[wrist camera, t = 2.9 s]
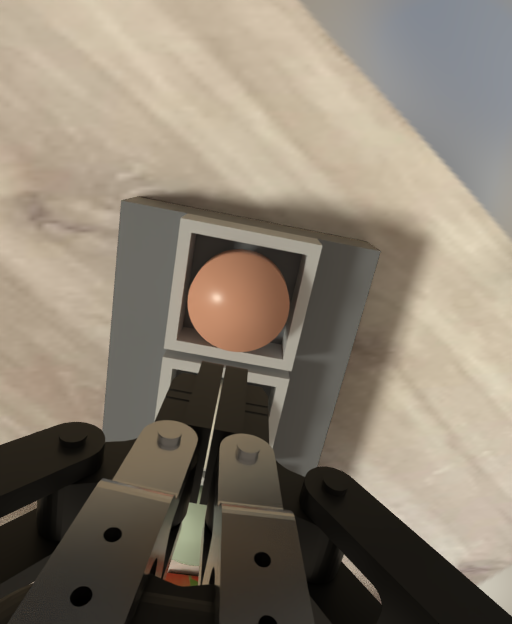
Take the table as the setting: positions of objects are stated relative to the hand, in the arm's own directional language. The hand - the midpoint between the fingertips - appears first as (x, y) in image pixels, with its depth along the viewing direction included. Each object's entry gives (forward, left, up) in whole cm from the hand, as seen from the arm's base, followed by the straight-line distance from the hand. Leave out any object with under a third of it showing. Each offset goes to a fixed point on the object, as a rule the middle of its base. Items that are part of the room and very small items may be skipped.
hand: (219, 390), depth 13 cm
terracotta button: (0, 0, -9) cm, 9 cm away
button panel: (+7, 0, -14) cm, 15 cm away
